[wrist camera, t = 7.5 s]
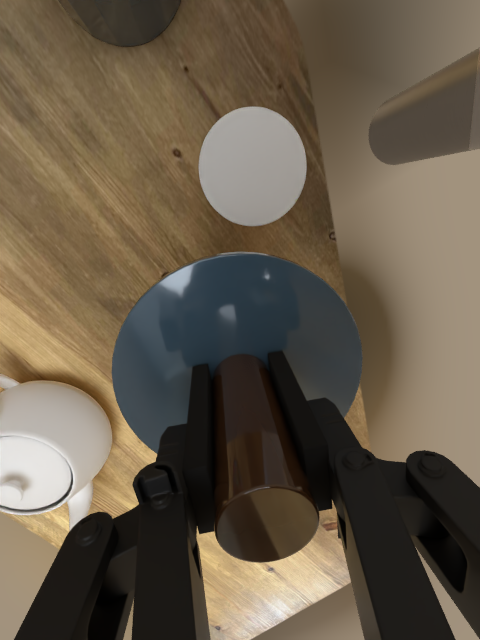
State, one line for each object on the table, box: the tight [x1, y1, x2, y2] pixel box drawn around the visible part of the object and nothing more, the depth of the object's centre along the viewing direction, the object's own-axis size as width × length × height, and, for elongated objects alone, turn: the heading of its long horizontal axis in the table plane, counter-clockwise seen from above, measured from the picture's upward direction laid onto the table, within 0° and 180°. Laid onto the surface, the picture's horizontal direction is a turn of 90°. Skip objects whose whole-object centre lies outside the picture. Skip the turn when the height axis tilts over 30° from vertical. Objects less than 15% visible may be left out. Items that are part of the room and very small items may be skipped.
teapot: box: [0, 373, 112, 530], centre depth 38 cm, size 25×16×12 cm, turn 20°
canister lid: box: [112, 252, 362, 563], centre depth 13 cm, size 13×13×9 cm
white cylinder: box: [199, 107, 307, 226], centre depth 30 cm, size 8×8×12 cm
